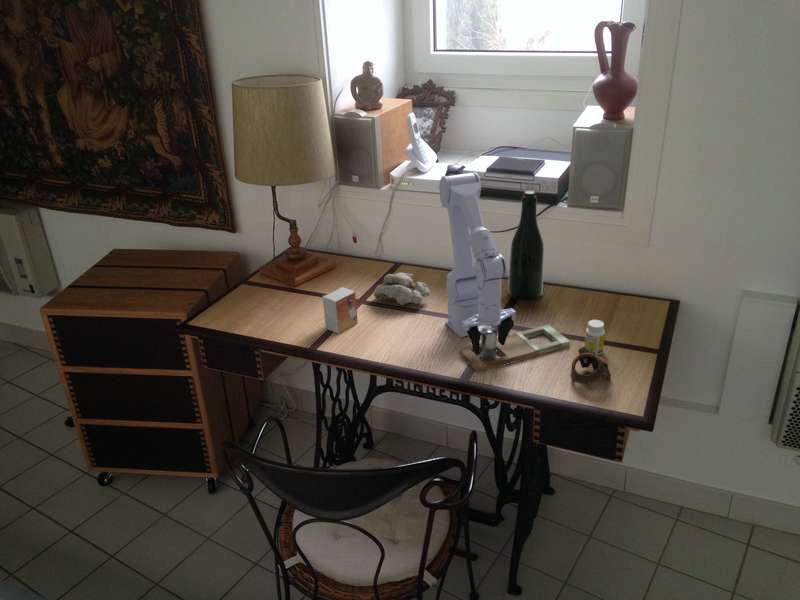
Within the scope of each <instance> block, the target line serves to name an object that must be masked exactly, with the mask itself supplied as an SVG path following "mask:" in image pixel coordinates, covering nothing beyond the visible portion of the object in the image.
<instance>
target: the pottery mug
mask: <svg viewBox="0 0 800 600" xmlns="http://www.w3.org/2000/svg"><path fill="white" fill-rule="evenodd" d="M577 351H578V355H576V357H575V358H574V359H573V360H572V363H571V372H570V378H571V381H572V382H573V383H577V384H581V385H586V386H587V385H588V384H589V385H591V384H594V383H596V382H599V383H602V376H601V375H605V374H606V375H607V377H608V380H609V381H610V380H611V377H612V376H611V375H612V374H611V372H610V369H609V364H608V362H607V361H606V359H604V357H602V356H600V355H595V354H594V353H589V351H588V350H587V349H586V348H585V346H582V347H581V348H579V349H578V350H577ZM578 362H579V363H580V367H581V368H583V369H586V368H589V367H590V365H591V366H592V371H594V372H592V373H590V374H581V373H579V372H578V371H577V370H576V365H577V363H578Z"/></svg>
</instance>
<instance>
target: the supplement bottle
mask: <svg viewBox="0 0 800 600" xmlns="http://www.w3.org/2000/svg"><path fill="white" fill-rule="evenodd" d="M604 328H605V323H604V322H603V321H602V320H599V319H591V320H589V321H588V323H587V328H586V329H585V338H584V347H585V348H586V349H587V350H588V351H589V353H594V354H595V355H598V356H600V355H602V354H603V352H604V344H605V343H604V342H605V335H606V331H605V329H604Z"/></svg>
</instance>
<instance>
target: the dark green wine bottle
mask: <svg viewBox="0 0 800 600" xmlns="http://www.w3.org/2000/svg"><path fill="white" fill-rule="evenodd" d="M537 204H538V197H537V194H536V191H535V190H524V191H523V195H522V196H521V208H520V209H521V211H520V218H519V223H518V225H517V228H516V231H515V233H514V234H513V237H512V240H511V243H510V249H509V250H510V251H509V259H508V260H509V262H508V277H507V278H508V282H507V292H508V293H507V294H508V295H509V296H510V297H511V298H513V299H515V300H519V301H524V302H525V301H534V300H537V299H539V298H540V297H541V296H542V295H543V289H544V288H543V287H544V267H545V266H544V265H545V264H544V263H545V247H544V246H545V245H544V240H543V237H542V234H541V232H540V228H539V225H538V219H537V218H538V217H537Z"/></svg>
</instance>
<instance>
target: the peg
mask: <svg viewBox="0 0 800 600" xmlns="http://www.w3.org/2000/svg"><path fill="white" fill-rule="evenodd" d="M481 333H482V334H481V337H480V343H481V351H480V359H481V358H482V359H483V360H485V361H484V362H487V361H490V360H494V359H497V351H496V342H497V339H498V329H496V328H493V327H491V326H490V327H483V329H482V330H481ZM482 359H481V360H482ZM483 360H482V361H483Z"/></svg>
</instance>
